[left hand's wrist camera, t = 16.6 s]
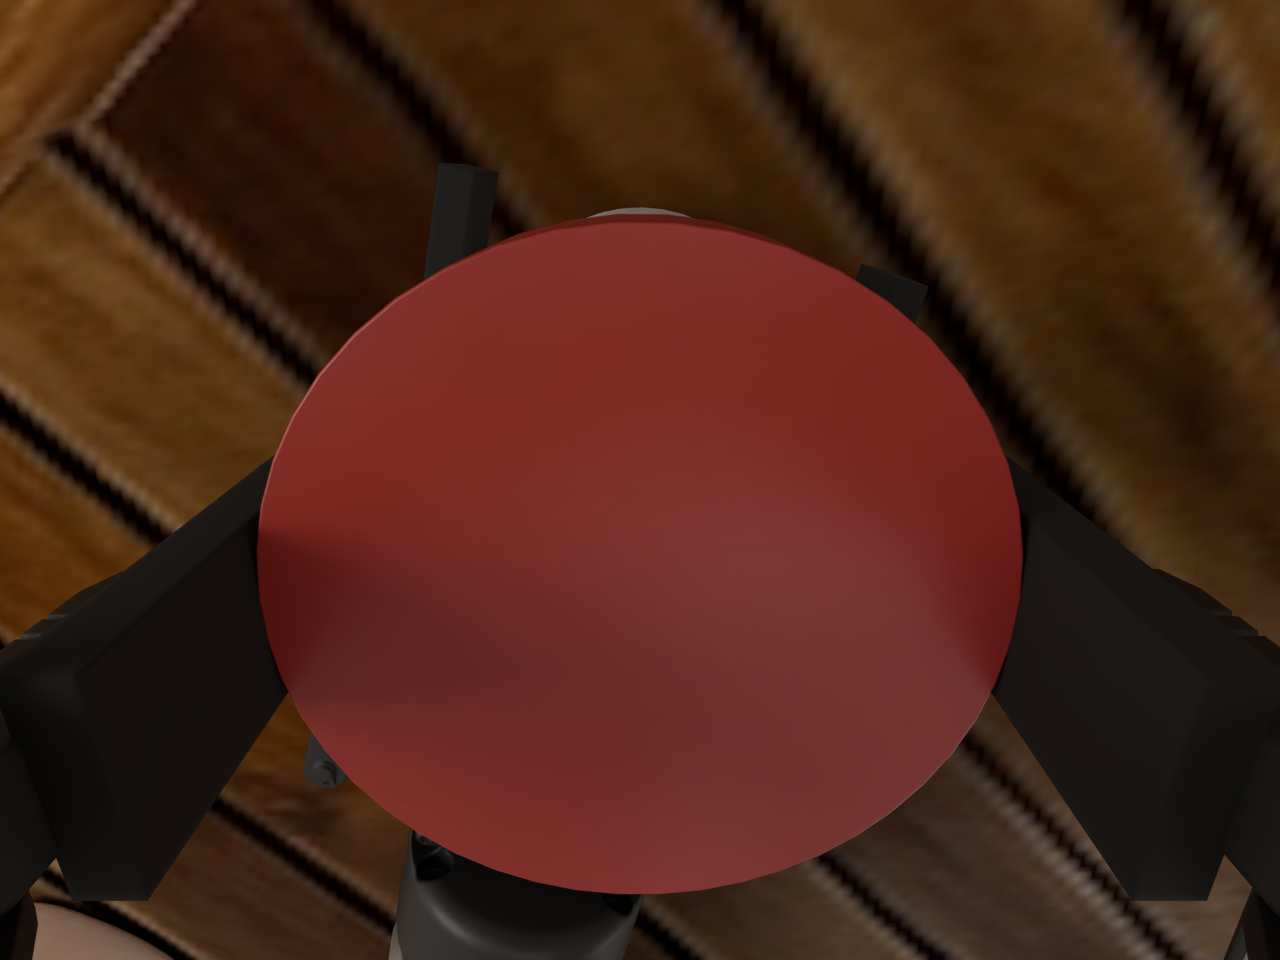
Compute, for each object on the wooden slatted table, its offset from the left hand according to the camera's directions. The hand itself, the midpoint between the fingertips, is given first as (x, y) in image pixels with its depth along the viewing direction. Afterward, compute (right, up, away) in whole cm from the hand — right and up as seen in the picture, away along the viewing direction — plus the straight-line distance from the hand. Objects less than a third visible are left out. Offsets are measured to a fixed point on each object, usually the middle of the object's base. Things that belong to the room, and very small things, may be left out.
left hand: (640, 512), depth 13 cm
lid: (0, -1, -3) cm, 3 cm away
